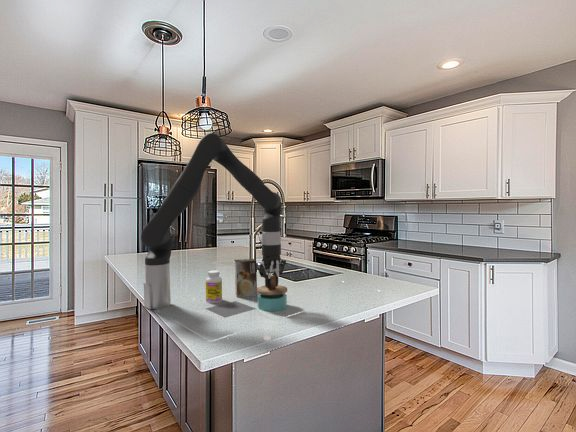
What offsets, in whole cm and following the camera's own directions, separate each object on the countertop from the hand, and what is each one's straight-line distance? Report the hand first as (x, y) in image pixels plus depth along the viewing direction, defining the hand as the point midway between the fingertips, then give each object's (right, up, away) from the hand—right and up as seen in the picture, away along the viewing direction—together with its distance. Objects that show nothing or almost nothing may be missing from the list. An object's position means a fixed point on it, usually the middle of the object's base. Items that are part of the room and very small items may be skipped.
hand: (271, 286), depth 128 cm
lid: (0, -2, 0) cm, 2 cm away
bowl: (0, -8, 0) cm, 8 cm away
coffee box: (-12, -8, +18) cm, 23 cm away
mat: (-16, -9, -2) cm, 18 cm away
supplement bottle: (-25, -9, +9) cm, 28 cm away
